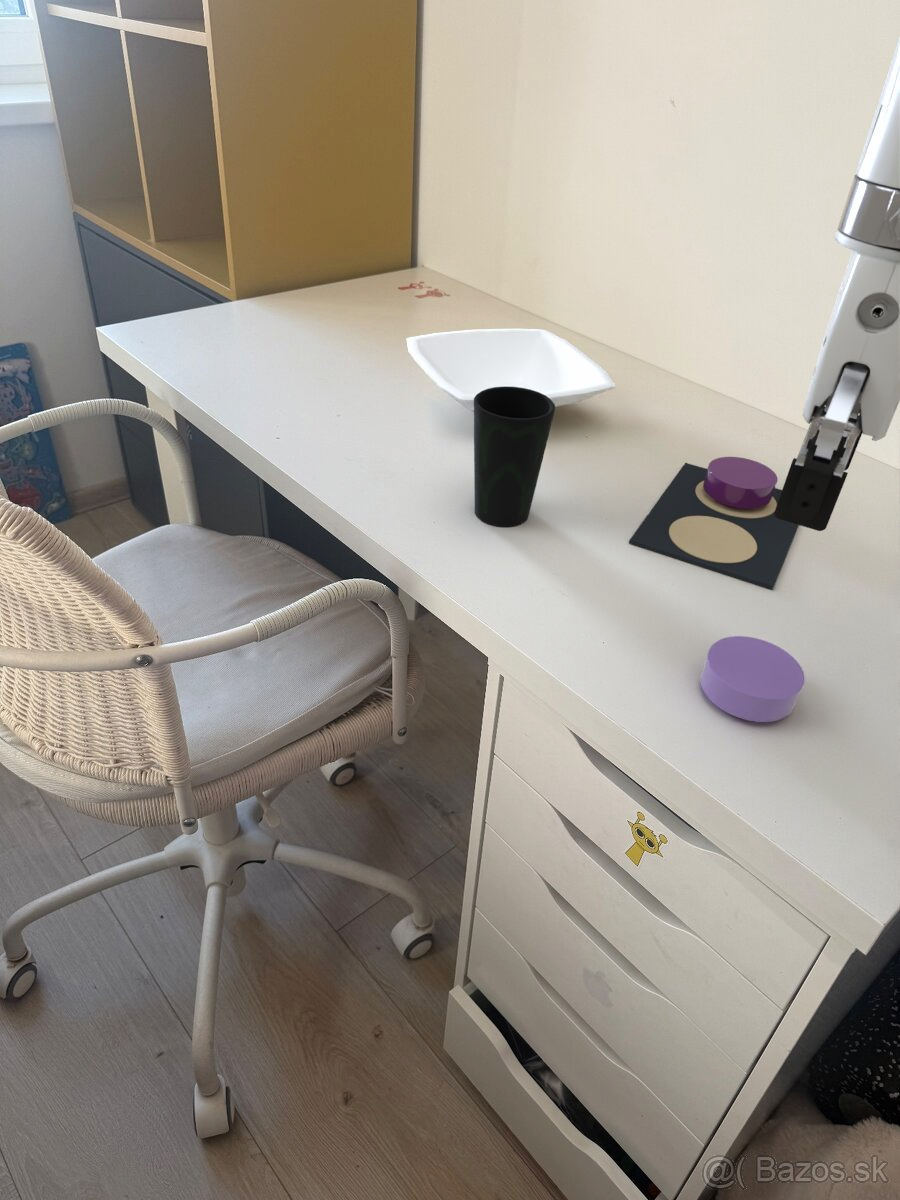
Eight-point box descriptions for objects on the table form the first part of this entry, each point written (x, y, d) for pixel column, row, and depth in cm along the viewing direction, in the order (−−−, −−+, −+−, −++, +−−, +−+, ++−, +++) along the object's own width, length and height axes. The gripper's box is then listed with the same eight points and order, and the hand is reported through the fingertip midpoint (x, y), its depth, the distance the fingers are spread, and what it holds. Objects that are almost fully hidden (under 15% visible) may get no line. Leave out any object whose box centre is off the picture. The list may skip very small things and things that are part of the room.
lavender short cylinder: (799, 685, 66) (812, 656, 64) (782, 741, 61) (795, 712, 59) (710, 653, 69) (720, 625, 67) (687, 704, 63) (696, 675, 62)
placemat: (808, 500, 91) (809, 496, 91) (772, 590, 77) (774, 585, 76) (684, 465, 96) (685, 461, 96) (628, 543, 82) (629, 539, 81)
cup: (541, 535, 82) (558, 422, 74) (464, 530, 81) (474, 416, 74) (536, 496, 88) (551, 388, 81) (464, 491, 88) (473, 383, 80)
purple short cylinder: (775, 492, 91) (783, 468, 89) (761, 521, 86) (770, 495, 84) (710, 474, 93) (717, 450, 92) (693, 500, 88) (700, 475, 86)
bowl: (542, 364, 119) (547, 324, 116) (622, 433, 102) (631, 389, 98) (392, 375, 112) (393, 333, 109) (452, 452, 95) (455, 405, 91)
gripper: (984, 267, 38) (852, 570, 49) (991, 208, 51) (884, 459, 61) (817, 237, 41) (725, 530, 51) (863, 188, 53) (781, 432, 64)
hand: (812, 491), depth 56 cm, fingers open, 9 cm apart
